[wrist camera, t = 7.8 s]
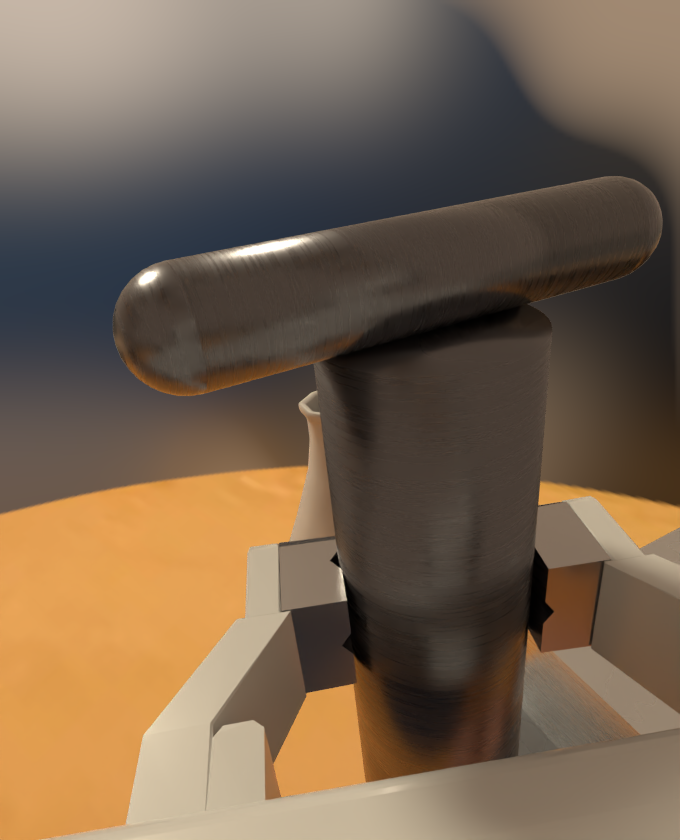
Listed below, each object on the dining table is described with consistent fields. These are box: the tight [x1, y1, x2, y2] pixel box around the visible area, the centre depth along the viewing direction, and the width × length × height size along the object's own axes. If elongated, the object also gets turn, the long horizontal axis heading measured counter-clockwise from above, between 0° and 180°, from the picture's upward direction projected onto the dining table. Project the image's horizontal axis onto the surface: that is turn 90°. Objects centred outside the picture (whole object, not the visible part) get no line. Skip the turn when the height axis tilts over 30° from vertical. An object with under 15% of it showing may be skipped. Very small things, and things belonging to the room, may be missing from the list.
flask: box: [289, 391, 335, 542], centre depth 31 cm, size 7×7×10 cm
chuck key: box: [113, 176, 662, 783], centre depth 10 cm, size 7×3×14 cm, turn 117°
